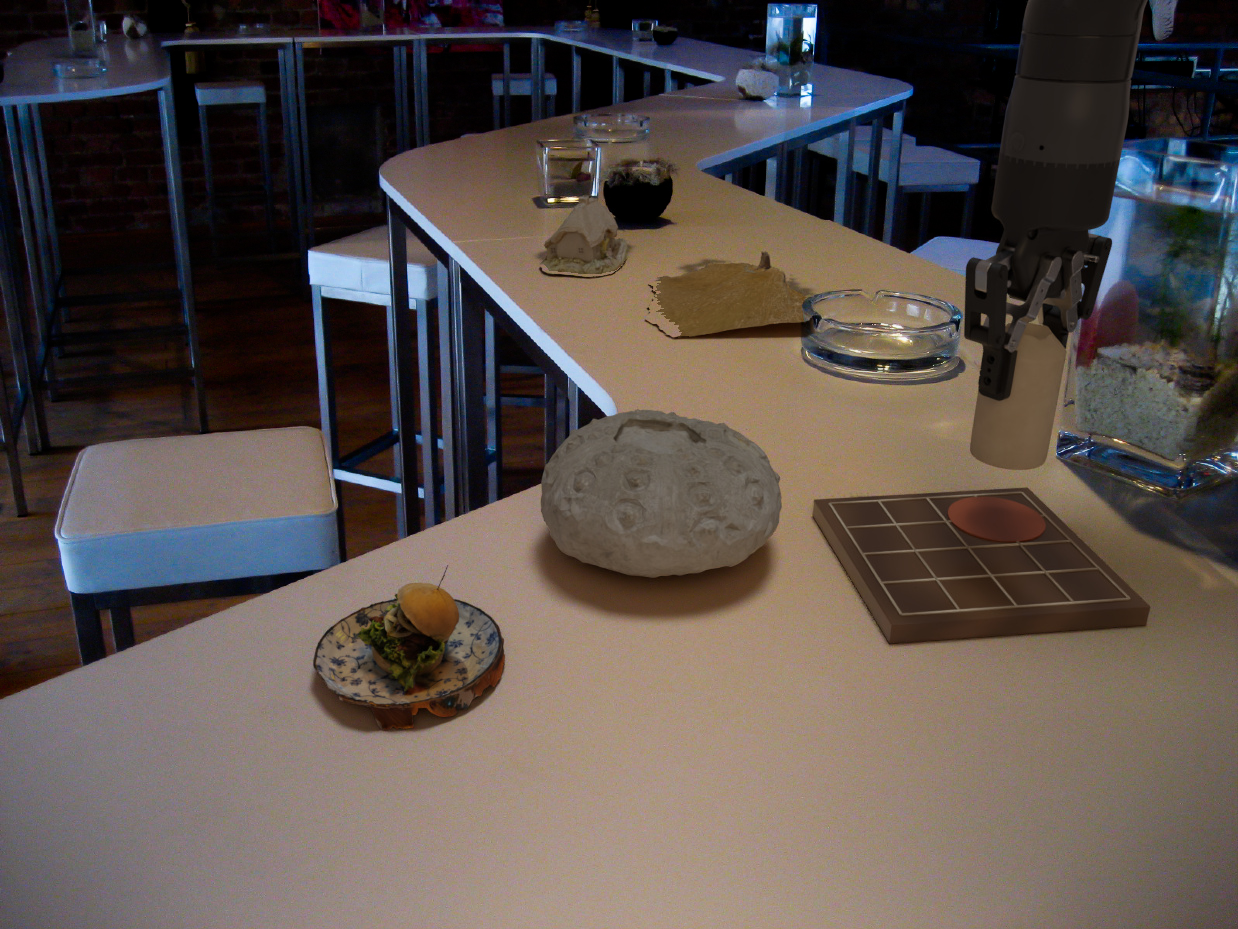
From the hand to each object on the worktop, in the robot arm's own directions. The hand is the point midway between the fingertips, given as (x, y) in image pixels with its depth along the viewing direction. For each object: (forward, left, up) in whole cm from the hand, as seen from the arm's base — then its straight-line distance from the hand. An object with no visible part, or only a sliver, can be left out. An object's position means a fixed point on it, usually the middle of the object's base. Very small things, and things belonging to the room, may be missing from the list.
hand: (1019, 386), depth 79 cm
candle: (0, 0, -6) cm, 6 cm away
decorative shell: (+26, -1, -13) cm, 29 cm away
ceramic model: (+24, -83, -13) cm, 87 cm away
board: (+4, +4, -12) cm, 14 cm away
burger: (+44, +12, -13) cm, 47 cm away
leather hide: (+8, -61, -13) cm, 63 cm away
